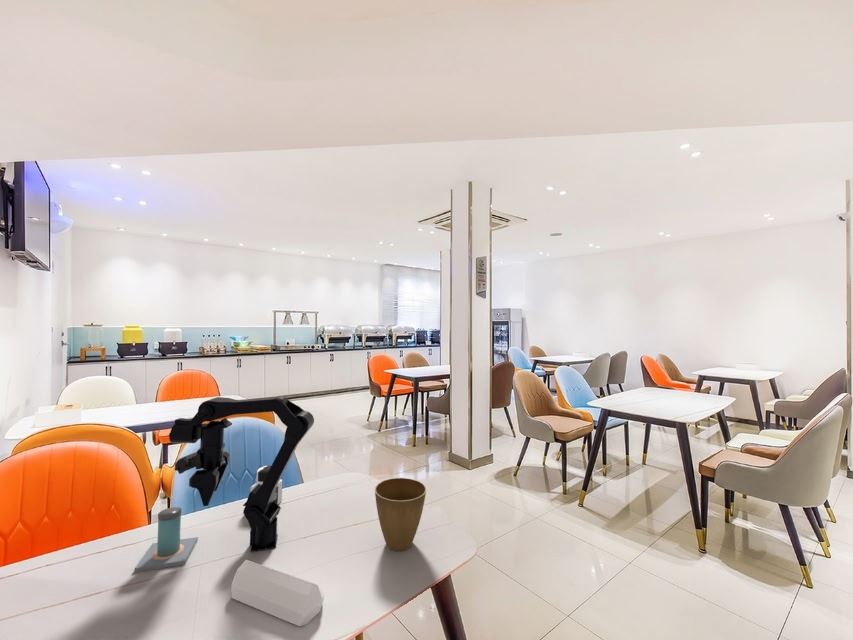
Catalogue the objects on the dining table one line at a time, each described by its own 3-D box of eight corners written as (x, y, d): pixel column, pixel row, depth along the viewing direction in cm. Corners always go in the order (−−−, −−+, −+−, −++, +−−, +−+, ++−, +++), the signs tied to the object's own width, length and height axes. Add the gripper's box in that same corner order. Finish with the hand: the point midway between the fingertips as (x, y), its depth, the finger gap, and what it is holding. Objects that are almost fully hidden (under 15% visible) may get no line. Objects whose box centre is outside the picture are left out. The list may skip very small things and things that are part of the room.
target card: (197, 540, 104) (197, 536, 104) (185, 564, 94) (185, 560, 94) (152, 547, 101) (152, 543, 101) (134, 572, 91) (134, 568, 91)
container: (282, 501, 129) (283, 464, 130) (270, 511, 122) (271, 472, 122) (261, 499, 130) (262, 463, 130) (249, 510, 122) (250, 471, 123)
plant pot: (364, 554, 100) (366, 495, 100) (385, 526, 114) (386, 475, 114) (416, 564, 96) (417, 503, 96) (431, 534, 110) (431, 481, 110)
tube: (184, 545, 100) (186, 507, 100) (171, 557, 95) (172, 516, 95) (166, 545, 100) (167, 506, 100) (151, 557, 95) (153, 516, 95)
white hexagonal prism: (336, 584, 82) (258, 557, 92) (318, 586, 77) (237, 557, 86) (325, 625, 79) (244, 593, 88) (306, 630, 73) (222, 595, 82)
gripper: (189, 435, 110) (187, 487, 109) (166, 456, 92) (164, 518, 92) (230, 433, 113) (229, 483, 113) (216, 452, 96) (214, 512, 95)
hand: (210, 498), depth 103 cm, fingers open, 9 cm apart
